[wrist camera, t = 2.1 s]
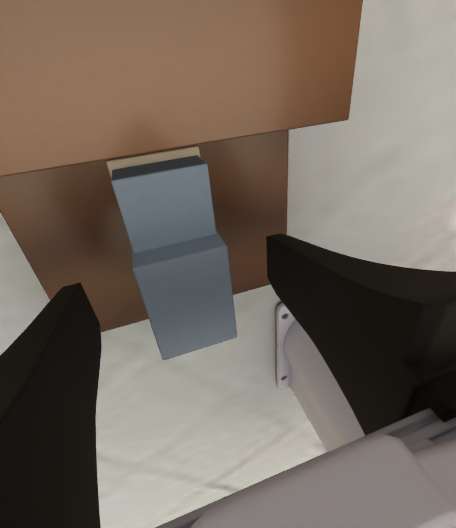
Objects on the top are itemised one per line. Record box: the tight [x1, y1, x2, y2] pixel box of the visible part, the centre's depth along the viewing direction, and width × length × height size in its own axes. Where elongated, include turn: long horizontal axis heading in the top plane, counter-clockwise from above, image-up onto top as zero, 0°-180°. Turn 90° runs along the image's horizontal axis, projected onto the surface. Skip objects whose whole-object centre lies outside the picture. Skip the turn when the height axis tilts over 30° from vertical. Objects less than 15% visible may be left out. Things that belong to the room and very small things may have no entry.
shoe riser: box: [0, 0, 363, 332], centre depth 10 cm, size 18×12×6 cm, turn 6°
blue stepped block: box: [107, 145, 237, 360], centre depth 12 cm, size 8×3×4 cm, turn 6°
